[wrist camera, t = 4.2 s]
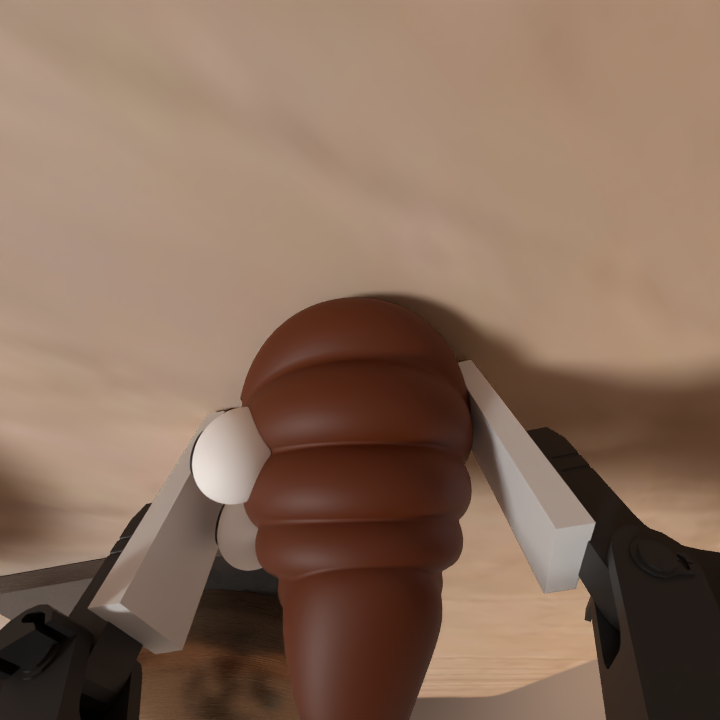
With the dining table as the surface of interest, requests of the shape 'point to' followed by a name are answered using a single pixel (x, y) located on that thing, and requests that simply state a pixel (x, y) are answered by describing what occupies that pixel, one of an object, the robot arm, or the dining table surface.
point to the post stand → (193, 644)
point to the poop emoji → (347, 497)
